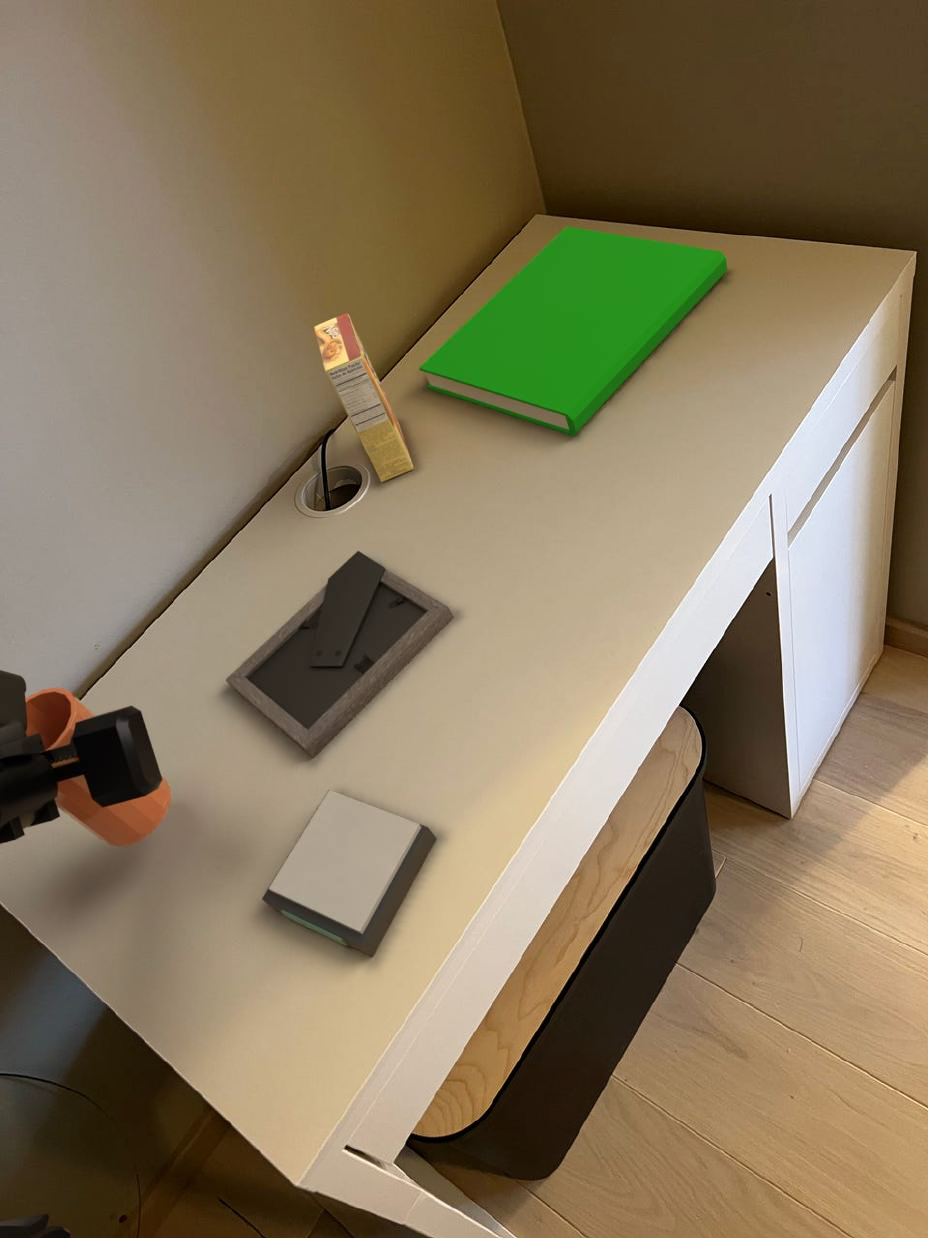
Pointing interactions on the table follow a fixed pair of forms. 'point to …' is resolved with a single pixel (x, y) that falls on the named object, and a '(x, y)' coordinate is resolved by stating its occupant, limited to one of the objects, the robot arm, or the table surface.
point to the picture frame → (338, 651)
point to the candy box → (362, 396)
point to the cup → (111, 824)
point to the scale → (350, 871)
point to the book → (572, 326)
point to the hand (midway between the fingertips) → (90, 754)
